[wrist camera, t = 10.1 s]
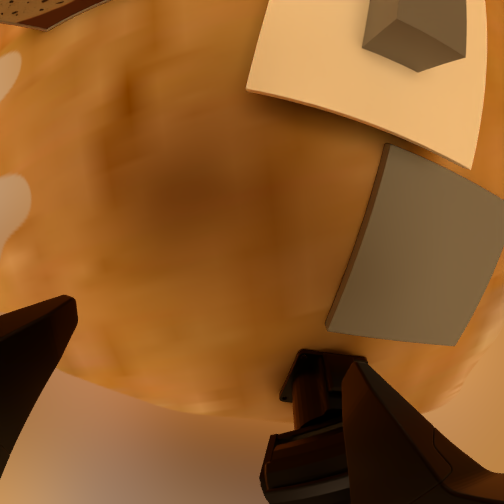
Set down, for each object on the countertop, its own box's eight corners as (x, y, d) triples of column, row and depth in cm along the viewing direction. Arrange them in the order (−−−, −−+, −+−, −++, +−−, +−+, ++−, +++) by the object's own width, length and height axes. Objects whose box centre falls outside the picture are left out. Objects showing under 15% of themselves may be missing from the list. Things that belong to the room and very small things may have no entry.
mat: (450, 340, 23) (454, 346, 22) (324, 323, 22) (327, 331, 21) (509, 205, 17) (516, 208, 16) (384, 143, 17) (391, 144, 16)
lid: (462, 167, 12) (521, 184, 8) (246, 91, 12) (237, 65, 7) (478, 3, 8) (522, -15, 3) (295, -76, 7) (302, -125, 3)
